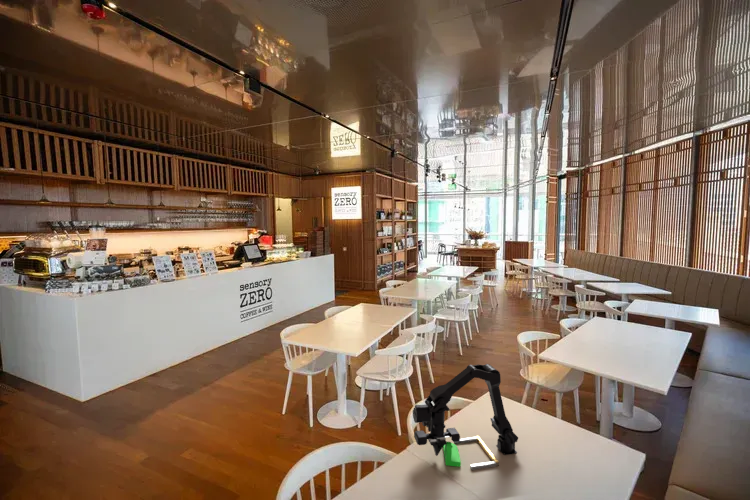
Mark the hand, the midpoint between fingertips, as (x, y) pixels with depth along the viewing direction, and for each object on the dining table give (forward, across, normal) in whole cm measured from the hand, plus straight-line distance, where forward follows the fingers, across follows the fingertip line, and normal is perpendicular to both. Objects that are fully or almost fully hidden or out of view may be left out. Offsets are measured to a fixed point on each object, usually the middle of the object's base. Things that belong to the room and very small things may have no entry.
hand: (436, 455), depth 141 cm
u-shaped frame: (+1, -18, 0) cm, 18 cm away
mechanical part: (+2, -7, -1) cm, 7 cm away
